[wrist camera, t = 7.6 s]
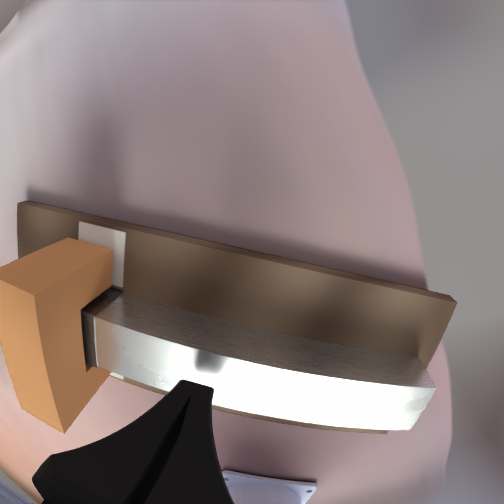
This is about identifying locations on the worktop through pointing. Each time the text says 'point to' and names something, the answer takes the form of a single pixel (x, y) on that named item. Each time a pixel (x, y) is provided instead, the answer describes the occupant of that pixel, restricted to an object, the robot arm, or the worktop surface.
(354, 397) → the stand
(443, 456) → the worktop surface
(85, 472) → the robot arm
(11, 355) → the collar
